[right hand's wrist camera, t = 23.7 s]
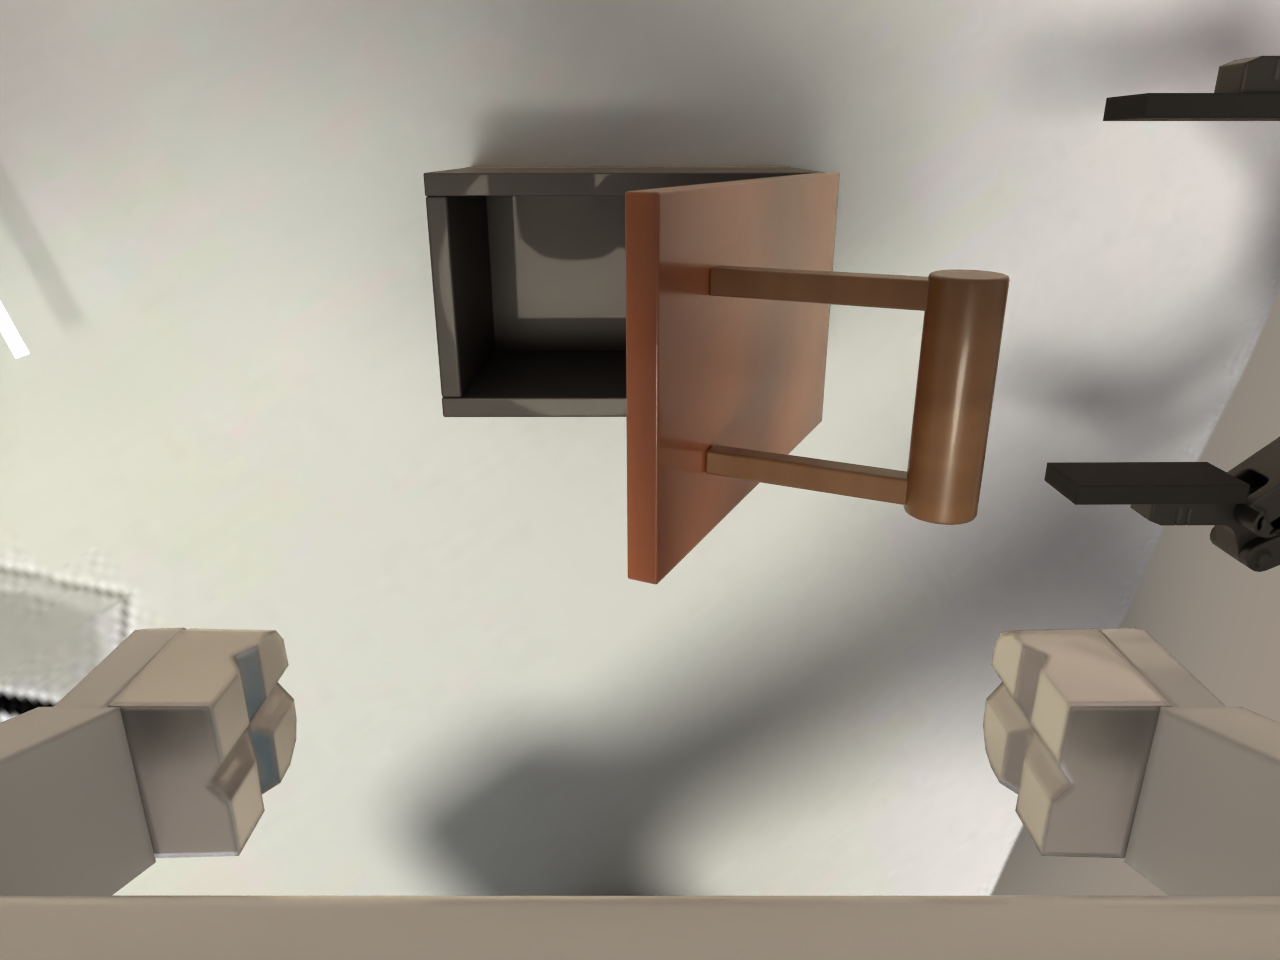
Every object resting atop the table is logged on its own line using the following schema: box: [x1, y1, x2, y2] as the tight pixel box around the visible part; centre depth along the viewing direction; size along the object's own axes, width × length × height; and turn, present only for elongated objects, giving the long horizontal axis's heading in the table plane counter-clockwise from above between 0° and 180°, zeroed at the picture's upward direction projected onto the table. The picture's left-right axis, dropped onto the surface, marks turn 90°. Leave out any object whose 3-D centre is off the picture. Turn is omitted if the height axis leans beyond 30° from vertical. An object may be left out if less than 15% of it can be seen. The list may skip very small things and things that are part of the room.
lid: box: [625, 173, 1009, 584], centre depth 27 cm, size 16×10×8 cm
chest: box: [424, 166, 825, 417], centre depth 40 cm, size 15×10×10 cm, turn 90°
